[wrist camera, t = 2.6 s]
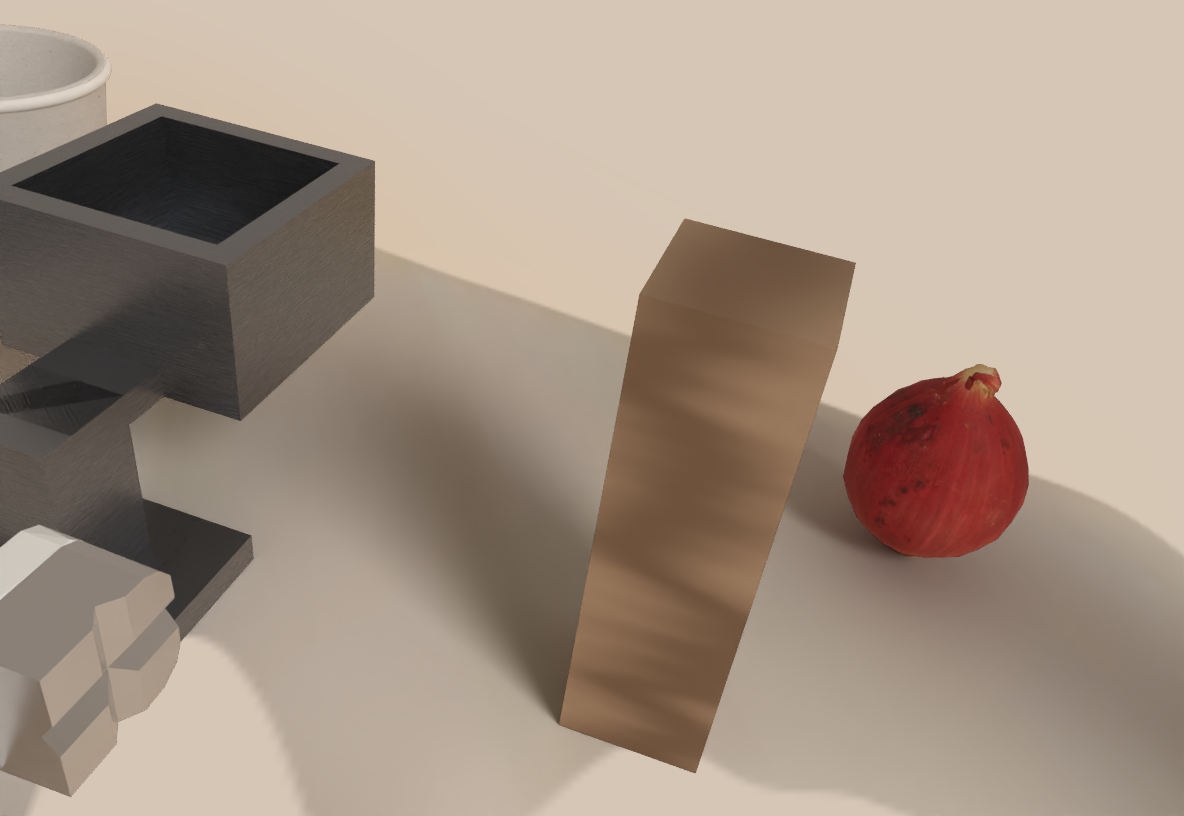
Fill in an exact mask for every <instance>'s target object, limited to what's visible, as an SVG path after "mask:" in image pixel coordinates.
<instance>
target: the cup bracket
mask: <svg viewBox="0 0 1184 816" xmlns="http://www.w3.org/2000/svg"><path fill="white" fill-rule="evenodd" d="M374 202H375V161H373V160H369V159H365V158H361V157H358V156H354V155H350V154H346V153H342V152H338V151H335V150H330V149H327V148H323V147H320V146H316V145H312V144H308V143H304V142H300V141H297V140H293V139H289V138H285V137H281V136H278V135H274V134H270V133H266V132H263V131H259V130H255V129H251V128H247V127H244V126H240V125H236V124H232V123H228V122H224V121H221V120H217V119H213V118H209V117H206V116H202V115H198V114H194V113H191V112H187V111H183V110H179V109H175V108H172V107H167V106H164V105H160V104H154V105H152V106H150V107H148V108H145V109H143V110H141V111H138V112H136V113H134V114H131V115H129V116H127V117H125V118H122V119H120V120H118V121H116V122H114V123H111V124H109V125H107V126H104V127H102V128H100V129H97V130H95V131H93V132H91V133H88V134H86V135H84V136H82V137H79V138H77V139H75V140H73V141H70V142H68V143H66V144H63V145H61V146H59V147H57V148H54V149H52V150H50V151H48V152H45V153H43V154H41V155H39V156H36V157H34V158H32V159H30V160H27V161H25V162H23V163H20V164H18V165H16V166H14V167H11V168H9V169H7V170H5V171H2V172H0V335H1V339H2V343H3V345H5V346H8V347H11V348H14V349H18V350H21V351H24V352H27V353H30V354H33V355H36V356H39V357H41V358H40V359H38V360H37V361H35V362H34V363H32V364H31V365H29V366H28V367H26V368H25V369H23V370H22V371H20V372H19V373H17V374H16V375H14V376H13V377H11V378H10V379H8V380H7V381H5V382H3V383H2V384H0V547H1V546H2V545H4V544H5V543H6V542H7V541H9V540H10V539H11V538H12V537H14V536H15V535H16V534H17V533H19V532H20V531H22V530H25V529H28V528H31V527H34V526H37V525H42V526H44V527H47V528H50V529H52V530H55V531H58V532H61V533H63V534H66V535H69V536H71V537H74V538H77V539H80V540H82V541H84V542H86V543H89V544H91V545H94V546H97V547H99V548H102V549H104V550H107V551H109V552H112V553H115V554H117V555H120V556H122V557H125V558H127V559H130V560H133V561H135V562H138V563H140V564H143V565H146V566H148V567H151V568H153V569H156V570H158V571H161V572H164V573H166V574H169V575H171V580H172V586H173V591H174V596H175V598H174V599H173V600H172V601H171V602H170V603H169V604H168V605H167V606H166V607H165V609H166V610H167V612H168V613H169V614H170V616H171V617H172V618H173V620H174V621H175V622H176V624H177V625H178V626H179V634H180V642H181V641H182V640H183V638H184V637H185V636H186V635H187V634H188V633H189V632H190V630H191V629H192V628H193V627H194V626H195V625H196V624H197V622H198V621H199V620H200V619H201V618H202V617H203V616H204V614H205V613H206V612H207V611H208V610H209V609H210V608H211V606H212V605H213V604H214V603H215V602H216V601H217V600H218V598H219V597H220V596H221V595H222V594H223V593H224V592H225V590H226V589H227V588H228V587H229V586H230V585H231V584H232V582H233V581H234V580H235V579H236V578H237V577H238V576H239V575H240V573H241V572H242V571H243V570H244V569H245V568H246V567H247V565H248V564H249V563H250V562H251V561H252V560H253V559H254V558H253V548H252V537H251V535H248V534H245V533H242V532H239V531H236V530H233V529H230V528H228V527H225V526H222V525H219V524H216V523H213V522H210V521H207V520H204V519H201V518H198V517H195V516H192V515H189V514H187V513H184V512H181V511H178V510H175V509H172V508H169V507H166V506H163V505H160V504H157V503H154V502H151V501H148V500H146V499H143V498H142V494H141V489H140V483H139V478H138V472H137V466H136V461H135V455H134V449H133V444H132V438H131V432H130V427H129V424H131V423H132V422H133V421H134V420H135V419H137V418H138V417H139V416H140V415H142V414H143V413H144V412H145V411H147V410H148V409H149V408H150V407H151V406H153V405H154V404H155V403H156V402H158V401H159V400H160V399H161V398H163V397H167V398H171V399H174V400H177V401H180V402H183V403H186V404H189V405H192V406H196V407H199V408H202V409H205V410H208V411H211V412H214V413H217V414H221V415H224V416H227V417H230V418H233V419H236V420H239V421H241V420H242V419H243V418H244V417H245V416H246V415H248V414H249V413H250V412H251V411H252V410H253V409H254V408H255V407H256V406H257V405H258V404H259V403H260V402H262V401H263V400H264V399H265V398H266V397H267V396H268V395H269V394H270V393H271V392H272V391H273V390H274V389H276V388H277V387H278V386H279V385H280V384H281V383H282V382H283V381H284V380H285V379H286V378H287V377H288V376H289V375H291V374H292V373H293V372H294V371H295V370H296V369H297V368H298V367H299V366H300V365H301V364H302V363H303V362H305V361H306V360H307V359H308V358H309V357H310V356H311V355H312V354H313V353H314V352H315V351H316V350H317V349H319V348H320V347H321V346H322V345H323V344H324V343H325V342H326V341H327V340H328V339H329V338H330V337H331V336H332V335H334V334H335V333H336V332H337V331H338V330H339V329H340V328H341V327H342V326H343V325H344V324H345V323H346V322H348V321H349V320H350V319H351V318H352V317H353V316H354V315H355V314H356V313H357V312H358V311H359V310H360V309H361V308H363V307H364V306H365V305H366V304H367V303H368V302H369V301H370V300H371V299H372V298H373V297H374V217H375V210H374V209H375V207H374V206H375V203H374Z"/></svg>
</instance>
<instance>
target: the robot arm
mask: <svg viewBox="0 0 1184 816" xmlns="http://www.w3.org/2000/svg"><path fill="white" fill-rule="evenodd" d="M174 598H175V596H174V591H173V586H172V580H171V575H169V574H166V573H164V572H161V571H158V570H156V569H153V568H151V567H148V566H146V565H143V564H140V563H138V562H135V561H133V560H130V559H127V558H125V557H122V556H120V555H117V554H115V553H112V552H109V551H107V550H104V549H102V548H99V547H97V546H94V545H91V544H89V543H86V542H84V541H82V540H80V539H77V538H74V537H71V536H69V535H66V534H63V533H61V532H58V531H55V530H52V529H50V528H47V527H44V526H42V525H37V526H34V527H31V528H28V529H25V530H22V531H20V532H19V533H17V534H16V535H15V536H14V537H12V538H11V539H10V540H9V541H7V542H6V543H5V544H4V545H2V546H1V547H0V770H1V771H4V772H6V773H9V774H12V775H14V776H17V777H20V778H22V779H25V780H27V781H30V782H33V783H35V784H38V785H41V786H43V787H46V788H49V789H51V790H54V791H56V792H59V793H62V794H64V795H67V796H70V797H71V796H72V795H73V794H74V793H75V791H76V790H77V789H78V788H79V787H80V786H81V784H82V783H83V782H84V781H85V780H86V779H87V778H88V776H89V775H90V774H91V773H92V772H93V771H94V769H95V768H96V767H97V766H98V765H99V764H100V763H101V761H102V760H103V759H104V758H105V757H106V755H107V754H108V753H109V752H110V751H111V750H112V749H113V748H114V746H115V745H116V743H117V729H118V722H119V721H121V720H124V719H126V718H129V717H131V716H133V715H135V714H138V713H140V712H143V711H145V710H146V709H147V708H148V707H149V706H150V704H151V703H152V702H153V701H154V699H155V698H156V697H157V696H158V695H159V693H160V692H161V691H162V690H163V689H164V687H165V685H166V683H167V681H168V679H169V677H170V675H171V673H172V671H173V669H174V667H175V665H176V663H177V659H178V653H179V648H180V634H179V626H178V625H177V624H176V622H175V621H174V620H173V618H172V617H171V616H170V614H169V613H168V612H167V610H166V609H165V607H166V606H167V605H168V604H169V603H170V602H171V601H172V600H173V599H174Z"/></svg>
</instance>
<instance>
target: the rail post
mask: <svg viewBox="0 0 1184 816" xmlns="http://www.w3.org/2000/svg"><path fill="white" fill-rule="evenodd" d="M855 264H856V263H854V262H850V261H846V260H843V259H839V258H835V257H831V256H827V255H823V254H819V253H815V252H812V251H808V250H804V249H800V248H796V247H793V246H788V245H785V244H781V243H777V242H773V241H769V240H765V239H762V238H758V237H754V236H750V235H746V234H743V233H739V232H735V231H731V230H727V229H723V228H719V227H716V226H711V225H708V224H704V223H700V222H696V221H692V220H689V219H684V221H683V222H682V224H681V226H680V227H679V229H678V231H677V233H676V234H675V236H674V237H673V239H672V241H671V242H670V244H669V246H668V247H667V249H666V251H665V252H664V254H663V256H662V257H661V259H660V261H659V263H658V264H657V266H656V268H655V269H654V271H653V273H652V274H651V276H650V278H649V279H648V281H647V283H646V284H645V286H644V288H643V289H642V291H641V293H640V295H639V300H638V306H637V311H636V316H635V321H634V327H633V332H632V337H631V343H630V348H629V353H628V359H627V364H626V370H625V375H624V380H623V386H622V391H621V396H620V402H619V407H618V412H617V418H616V423H615V428H614V434H613V439H612V444H611V450H610V455H609V460H608V466H607V471H606V476H605V482H604V487H603V492H602V498H601V503H600V509H599V514H598V519H597V525H596V530H595V535H594V541H593V546H592V551H591V557H590V562H589V567H588V573H587V578H586V583H585V589H584V594H583V599H582V605H581V610H580V615H579V621H578V626H577V631H576V637H575V642H574V647H573V653H572V658H571V664H570V669H569V674H568V680H567V685H566V690H565V696H564V701H563V706H562V712H561V717H560V722H559V725H561V726H564V727H567V728H570V729H572V730H575V731H578V732H581V733H584V734H586V735H589V736H592V737H595V738H598V739H600V740H603V741H606V742H609V743H612V744H614V745H617V746H620V747H623V748H626V749H628V750H631V751H634V752H637V753H640V754H642V755H645V756H648V757H651V758H654V759H657V760H659V761H662V762H665V763H668V764H670V765H673V766H676V767H679V768H682V769H684V770H687V771H690V772H693V773H696V770H697V768H698V765H699V762H700V759H701V756H702V753H703V750H704V747H705V744H706V741H707V738H708V735H709V732H710V729H711V726H712V723H713V720H714V717H715V714H716V711H717V708H718V705H719V702H720V699H721V696H722V693H723V690H724V687H725V684H726V681H727V678H728V675H729V672H730V669H731V666H732V663H733V660H734V657H735V654H736V651H737V648H738V645H739V642H740V639H741V636H742V633H743V630H744V627H745V624H746V621H747V618H748V615H749V612H750V609H751V606H752V603H753V600H754V597H755V594H756V591H757V588H758V585H759V582H760V579H761V576H762V573H763V570H764V567H765V564H766V561H767V558H768V555H769V552H770V549H771V546H772V543H773V540H774V537H775V534H776V531H777V528H778V525H779V522H780V519H781V516H782V513H783V510H784V507H785V504H786V501H787V498H788V495H789V492H790V489H791V486H792V483H793V480H794V477H795V474H796V471H797V468H798V465H799V462H800V459H801V456H802V453H803V450H804V447H805V444H806V441H807V438H808V435H809V432H810V429H811V426H812V423H813V420H814V417H815V414H816V411H817V408H818V405H819V402H820V399H821V396H822V393H823V390H824V387H825V384H826V381H827V378H828V375H829V372H830V369H831V366H832V363H833V360H834V357H835V354H836V351H837V348H838V344H839V339H840V334H841V330H842V325H843V320H844V316H845V310H846V306H847V301H848V297H849V292H850V287H851V283H852V278H853V273H854V269H855Z"/></svg>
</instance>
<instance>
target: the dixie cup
mask: <svg viewBox="0 0 1184 816" xmlns="http://www.w3.org/2000/svg"><path fill="white" fill-rule="evenodd" d="M110 75H111V63H110V61H109V59H108V57H107V56H106V55H105V54H104V53H103V52H102V51H101V50H99V49H98V48H96V47H95V46H94V45H92V44H90V43H88V42H86V41H84V40H82V39H79V38H77V37H74V36H70V35H67V34H64V33H59V32H55V31H51V30H45V29H40V28H33V27H25V26H15V25H0V172H2V171H5V170H7V169H9V168H11V167H14V166H16V165H18V164H20V163H23V162H25V161H27V160H30V159H32V158H34V157H36V156H39V155H41V154H43V153H45V152H48V151H50V150H52V149H54V148H57V147H59V146H61V145H63V144H66V143H68V142H70V141H73V140H75V139H77V138H79V137H82V136H84V135H86V134H88V133H91V132H93V131H95V130H97V129H100V128H102V127H104V126H107V122H106V121H107V119H106V81H107V80H108V79H109V77H110ZM0 336H1V335H0Z"/></svg>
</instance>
